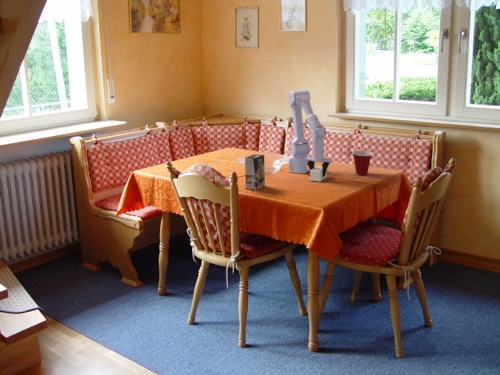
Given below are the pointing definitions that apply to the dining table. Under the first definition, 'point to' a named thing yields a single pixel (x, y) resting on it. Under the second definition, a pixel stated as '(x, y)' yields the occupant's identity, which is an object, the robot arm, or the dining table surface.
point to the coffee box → (254, 171)
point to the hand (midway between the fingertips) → (318, 175)
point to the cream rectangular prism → (317, 174)
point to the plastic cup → (362, 161)
